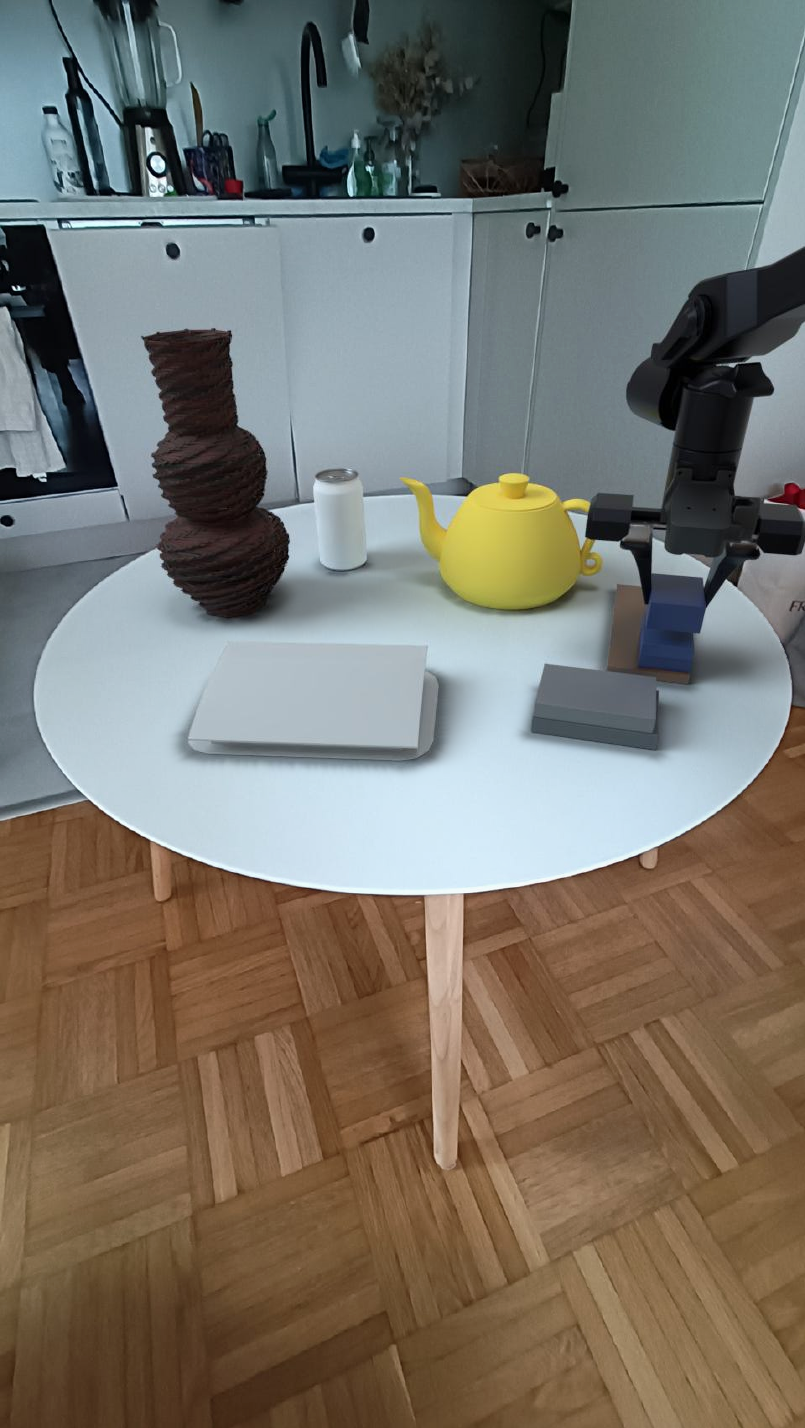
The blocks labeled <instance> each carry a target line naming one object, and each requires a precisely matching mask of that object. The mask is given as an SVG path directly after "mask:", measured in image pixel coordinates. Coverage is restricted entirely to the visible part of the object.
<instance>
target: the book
mask: <svg viewBox="0 0 805 1428" xmlns="http://www.w3.org/2000/svg"><path fill="white" fill-rule="evenodd" d="M428 648H429V645H421V644H420V645H418V644H416V645H415V644H414V645H413V644H372V643H371V644H370V643H332V642H331V643H328V642H325V643H324V642H323V643H322V642H284V641H283V642H282V641H280V642H279V641H278V642H277V641H238V640H237V641H235V640H232V641H231V640H229V641H227V642H226V644H225V646H224V647H223V649H222V651H221V653H220V655H219V657H218V659H217V661H216V663H215V665H214V667H213V670H212V672H211V674H210V676H209V678H208V680H207V683H206V685H205V687H204V690H203V692H202V695H201V697H200V701H199V703H198V705H197V708H196V711H195V715H194V717H193V721H192V724H191V727H190V730H189V732H188V737H187V743H188V745H189V746H190V747H191V748H192V750H193V751H195V752H200V753H203V754H208V755H210V754H212V755H232V756H233V755H237V756H261V757H262V756H263V757H292V758H317V759H318V758H319V759H345V760H347V759H348V760H374V761H399V762H401V761H409V760H414V759H418V758H419V757H422V756H423V755H424V754H426V753H427V752H429V751H430V749H431V747H432V745H433V743H434V741H435V739H434V738H435V729H436V728H435V727H436V719H437V707H438V698H439V687H440V686H439V682H438V679H437V676H435V675H434V674H432V673H430V672H429V671H427V670H426V664H427V658H428V657H427V656H428Z"/></svg>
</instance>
